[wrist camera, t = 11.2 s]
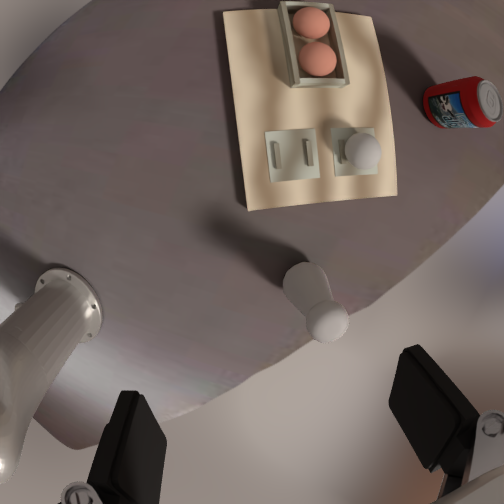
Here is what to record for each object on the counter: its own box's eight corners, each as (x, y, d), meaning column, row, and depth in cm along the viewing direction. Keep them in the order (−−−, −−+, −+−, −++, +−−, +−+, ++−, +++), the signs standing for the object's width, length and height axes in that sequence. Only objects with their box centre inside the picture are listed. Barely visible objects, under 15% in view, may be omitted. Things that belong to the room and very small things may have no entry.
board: (247, 208, 35) (249, 214, 32) (223, 16, 27) (222, 2, 23) (391, 193, 36) (407, 198, 32) (366, 20, 28) (378, 10, 24)
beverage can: (415, 113, 33) (471, 105, 21) (425, 78, 31) (478, 63, 20) (445, 137, 34) (501, 138, 23) (454, 103, 32) (508, 97, 21)
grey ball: (340, 169, 33) (355, 171, 29) (337, 134, 32) (352, 131, 28) (372, 168, 33) (389, 169, 29) (369, 133, 32) (386, 131, 28)
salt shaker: (271, 271, 38) (291, 323, 26) (309, 248, 38) (345, 290, 25) (292, 303, 40) (317, 361, 27) (327, 282, 39) (366, 332, 27)
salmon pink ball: (292, 49, 28) (299, 35, 24) (327, 49, 28) (337, 37, 24) (298, 80, 30) (305, 70, 25) (332, 80, 30) (344, 70, 25)
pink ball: (292, 43, 28) (300, 29, 24) (286, 15, 26) (294, 0, 22) (326, 44, 28) (338, 31, 24) (320, 17, 27) (330, 2, 22)
